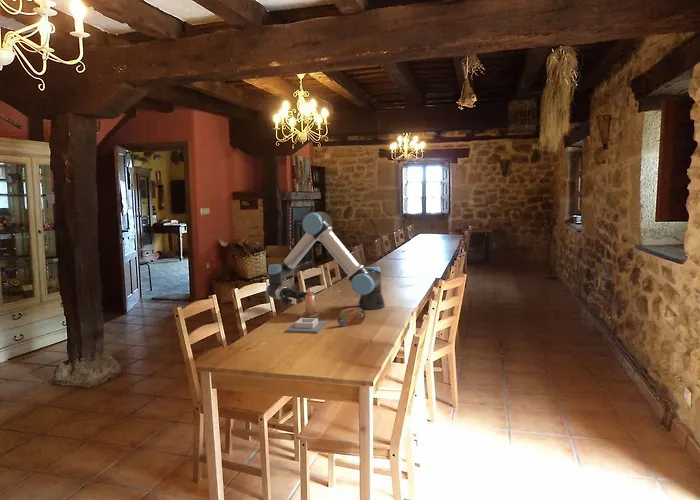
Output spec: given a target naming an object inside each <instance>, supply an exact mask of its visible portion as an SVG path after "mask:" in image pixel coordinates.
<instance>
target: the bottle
mask: <svg viewBox="0 0 700 500" xmlns="http://www.w3.org/2000/svg"><path fill="white" fill-rule="evenodd" d="M306 290H307V291H306V292H307V295H305V298H304V305H305V306H304V307H305V312H306V315H314V314H315V312H316V300H315V297H314V295H313V294H312V292H313V291H312V289H311V288H307V289H306Z"/></svg>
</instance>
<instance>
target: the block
mask: <svg viewBox="0 0 700 500" xmlns="http://www.w3.org/2000/svg"><path fill="white" fill-rule="evenodd" d="M321 317H322V312H321V311H315V314H314V315H306V311H304V312H302V313H300V315H299V319H300V318H316V319H318V320H319V319H320V318H321Z"/></svg>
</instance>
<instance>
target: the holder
mask: <svg viewBox="0 0 700 500" xmlns="http://www.w3.org/2000/svg"><path fill="white" fill-rule="evenodd" d="M327 324H328V321H327V320H324V321H323V320H319V319H316V318H300V317H299V319H298V320H296V321H295V322H293V323H292V324H290V325H289V326H288V327H287V328H286V329H285V331H284V332H285V333H298V334H299V333H300V334H301V333H303V334H318V333H319V332H321V330H322V329H324V327H325V326H326V325H327Z"/></svg>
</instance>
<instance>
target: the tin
mask: <svg viewBox="0 0 700 500" xmlns="http://www.w3.org/2000/svg"><path fill="white" fill-rule="evenodd" d="M365 319H366V312H365V309H361V308H359V307H350V308H344V309H341V310H339V311H338V313H337V315H336V321H337V324H338V325H340V326H342V327H345V328H346V327H349V326H350V327H351V326H357V325H361V324H362V323H363V322H364V321H365Z"/></svg>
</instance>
